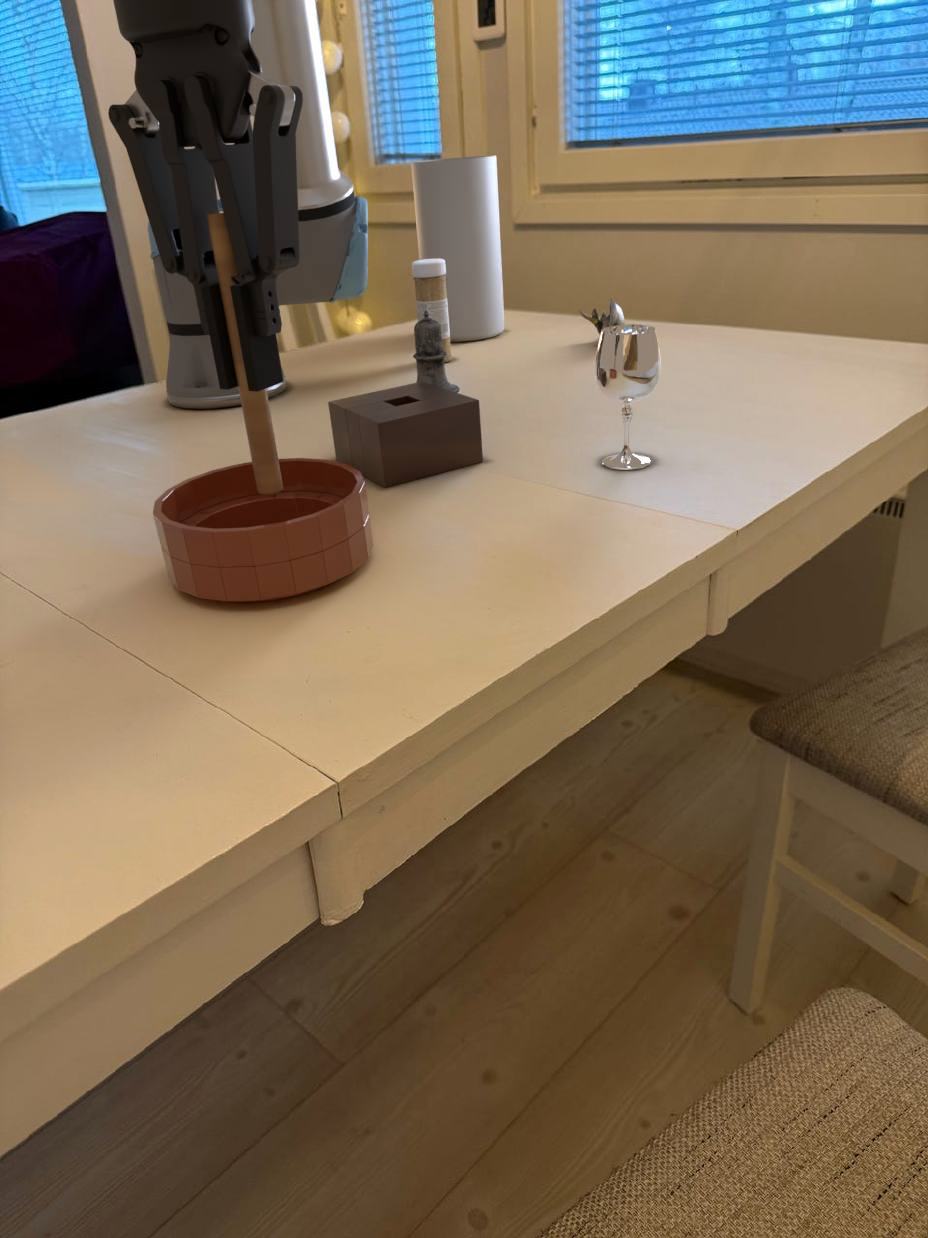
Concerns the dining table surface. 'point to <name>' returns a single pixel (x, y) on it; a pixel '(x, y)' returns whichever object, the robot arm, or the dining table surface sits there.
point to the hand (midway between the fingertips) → (251, 384)
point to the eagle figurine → (610, 320)
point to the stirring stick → (252, 401)
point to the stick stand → (406, 432)
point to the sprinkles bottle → (433, 296)
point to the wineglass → (627, 378)
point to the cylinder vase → (463, 239)
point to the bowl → (264, 531)
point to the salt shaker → (431, 354)
